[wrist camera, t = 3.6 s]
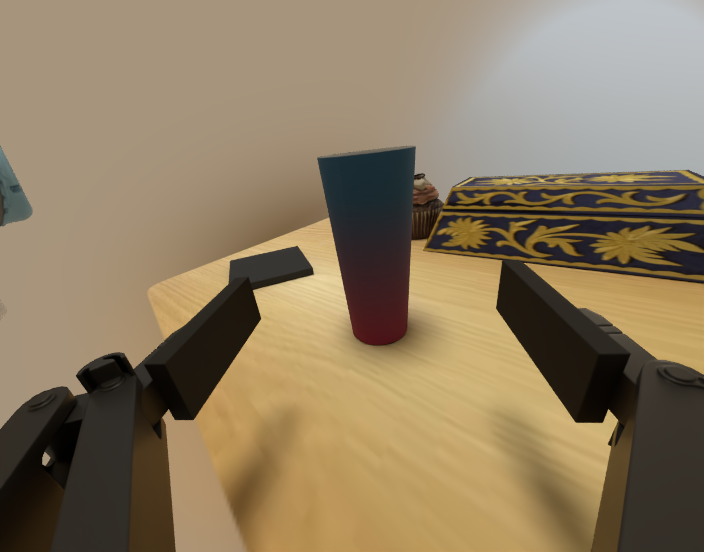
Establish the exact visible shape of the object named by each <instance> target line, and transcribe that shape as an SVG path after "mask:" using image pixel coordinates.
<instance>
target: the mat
mask: <svg viewBox="0 0 704 552" xmlns="http://www.w3.org/2000/svg"><path fill="white" fill-rule="evenodd" d="M312 274H314V273H313V268H312V266H311V265H310V263H309V262H308V261H307V259H306V258H305V256H304V255H303V253H302V252H301V250H300V249H299V247H298V246H295V247H291V248H286V249H282V250H277V251H273V252H268V253H263V254H259V255H254V256H250V257H245V258H241V259H236V260H231V261H230V272H229V283H230V282H232V281H233V280H234V279H235V278H238V277H249V280H250V283H251V286H252V289H256V288H260V287H264V286H268V285H272V284H276V283H280V282H284V281H288V280H292V279H296V278H300V277H304V276H308V275H312Z"/></svg>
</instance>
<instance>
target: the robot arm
mask: <svg viewBox="0 0 704 552" xmlns="http://www.w3.org/2000/svg"><path fill="white" fill-rule="evenodd" d="M31 215H32V207H31V206H30V204H29V202H28V200H27V198H26V196H25V194H24V192H23V190H22V188H21V186H20V184H19V182H18V180H17V178H16V176H15V174H14V172H13V170H12V168H11V166H10V164H9V162H8V160H7V158H6V156H5V154H4V153H3V150H2V148H1V146H0V226H4V225H6V224H8V223H12V222H17V221H22V220H25V219H27V218H29V217H30V216H31ZM496 309H497V310H498V312H499V313H500V315H501V316H502V318H503V319H504V320H505V322H506V323H507V325H508V326H509V328H510V329H511V331H512V332H513V333H514V335H515V336H516V338H517V339H518V341H519V342H520V343H521V345H522V346H523V348H524V349H525V351H526V352H527V353H528V355H529V356H530V358H531V359H532V361H533V362H534V363H535V365H536V366H537V368H538V369H539V371H540V372H541V373H542V375H543V376H544V378H545V379H546V381H547V382H548V383H549V385H550V386H551V388H552V389H553V391H554V392H555V394H556V395H557V396H558V398H559V399H560V401H561V402H562V404H563V405H564V406H565V408H566V409H567V411H568V412H569V414H570V415H571V416H572V418H573V419H574V421H575V422H576V423H603V421H604V418H605V416H606V414H607V411H608V409H609V410H610V411H611V412H612V413H613V415H614V416H615V417H616V418H617V419H618V423H617V425H616V427H615V429H614V432H613V434H612V436H611V438H610V441H609V443H608V445H610V446H611V451H610V456H609V462H608V467H607V472H606V477H605V482H604V487H603V492H602V498H601V503H600V508H599V513H598V518H597V523H596V528H595V533H594V539H593V544H592V549H591V552H704V375H703V374H701V373H699V372H698V371H696V370H694V369H692V368H690V367H687V366H684V365H682V364H679V363H675V362H671V361H666V360H657V359H656V358H655V357H653V356H652V355H651V354H650V353H648V352H647V351H646V350H645V349H643V348H642V347H641V346H639V345H638V344H637V343H636V342H634V341H633V340H632V339H630V338H629V337H628V336H627V335H625V334H622V331H620V330H619V329H618V328H616V327H615V326H613V324H611V323H610V322H609V321H608V320H606V319H605V318H604V317H602V316H601V315H599V314H597V313H595V312H593V311H590V310H588V309H586V308H580V309H577V308H576V307H575V306H574V305H573V304H571V303H570V302H569V301H568V300H567V299H566V298H564V297H563V296H562V295H561V294H560V293H558V292H557V291H556V290H555V289H554V288H552V287H551V286H550V285H549V284H548V283H547V282H545V281H544V280H543V279H542V278H541V277H539V276H538V275H537V274H536V273H535V272H534V271H532V270H531V269H530V268H529V267H528V266H526V265H525V264H524V263H523V262H522V261H520V260H503V261H502V268H501V275H500V283H499V291H498V298H497V306H496ZM260 320H261V316H260V313H259V310H258V306H257V303H256V300H255V296H254V293H253V290H252V286H251V283H250V280H249V277H238V278H235V279H234V280H233V281H232V282H230V283H229V284H228V285H227V286H226V287H225V288H224V289H223V290H222V291H221V292H220V293H219V294H218V295H217V296H216V297H215V298H214V299H212V300H211V301H210V302H209V303H208V304H207V305H206V306H205V307H204V308H203V309H202V310H201V311H200V312H199V313H198V314H197V315H196V316H194V317H193V318H192V319H191V320H190V321H189V322H188V323H187V324H186V325H185V326H183V327H182V328H180V329H178V330H177V331H175V332H174V333H172V334H171V335H170V336H169V337H168V338H167V339H166V340H165V341H164V342H163V343H161V345H159V346H158V347H157V349H155V350H154V351H153V352H152V353H151V354H150V355H148V357H146V358H145V359H144V360H143V361H142V362H141V363H140V364H139V365H138V366H137V367H136V368H135V369H133V368H132V366H131V364H130V363H129V361H128V359H127V357H126V356H125V354H124V353H120V352H119V353H111V354H108V355H105V356H102V357H100V358H98V359H95V360H94V361H92V362H90V363H89V364H87V365H86V366H84V367H83V368H82V369H81V370H80V371H79V372H78V373H77V375H76V377H77V378H78V380H79V381H80V382H81V384H82V385H83V387H84V388H85V389H86V391H87V392H88V393H85V394H81V395H77V396H73V394H72V393H71V392H70V390H69V389H68V388H67V387H56V388H53V389H50V390H47V391H44V392H41V393H40V394H38V395H35V396H34V397H32V398H31V399H30V400H29V401H27V402H26V403H24V404H23V405H22V406H21V407H20V408H19V409H18V410H17V411H16V412H15V413H14V414H13V415H12V416H11V418H10V419H9V420H8V421H7V422H6V423H5V424H4V426H3V427H2V428H1V429H0V552H176V550H175V537H174V525H173V513H172V499H171V487H170V475H169V474H170V473H169V461H168V449H167V435H166V424H165V422H164V420H163V418H162V417H163V416H164V414H165V413H166V412H167V410H168V409H169V410H170V412H171V414H172V416H173V417H174V419H175V420H194V419H195V417H196V416H197V414H198V413H199V411H200V410H201V408H202V407H203V405H204V404H205V402H206V401H207V399H208V398H209V396H210V395H211V393H212V392H213V390H214V389H215V387H216V386H217V384H218V383H219V381H220V380H221V378H222V377H223V375H224V374H225V372H226V371H227V369H228V368H229V366H230V365H231V363H232V362H233V360H234V359H235V357H236V356H237V354H238V353H239V351H240V350H241V348H242V347H243V345H244V344H245V342H246V341H247V339H248V338H249V336H250V335H251V333H252V332H253V330H254V329H255V327H256V326H257V324H258V323H259V321H260ZM44 452H46V453H47V454H48V455H49V456H50V457H51V458H50V460H49V462H48V463H47V465H46V466H44V465H42V457H43V454H44Z"/></svg>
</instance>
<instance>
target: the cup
mask: <svg viewBox="0 0 704 552" xmlns="http://www.w3.org/2000/svg"><path fill="white" fill-rule="evenodd" d="M415 149H416V147H415V146H403V147H393V148H382V149H373V150H365V151H357V152H348V153H340V154H333V155H327V156H321V157H318V158H317V159H318V164H319V169H320V174H321V179H322V183H323V188H324V193H325V198H326V203H327V208H328V213H329V217H330V222H331V227H332V232H333V237H334V242H335V246H336V251H337V256H338V261H339V266H340V271H341V276H342V280H343V285H344V290H345V295H346V300H347V305H348V309H349V314H350V319H351V324H352V329H353V333H354V335H355V336H356V337H357V339H359V340H360V341H362V342H364V343H367V344H372V345H385V344H390V343H393V342H395V341H397V340H399V339H400V338H402V337H403V336H404V335H405V333H406V331H407V319H408V298H409V277H410V255H411V234H412V213H413V191H414V170H415Z"/></svg>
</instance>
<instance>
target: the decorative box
mask: <svg viewBox="0 0 704 552" xmlns="http://www.w3.org/2000/svg"><path fill="white" fill-rule="evenodd" d="M442 209H443V210H441V212H440V215H439V217H438V219H437V221H436V223H435V226H434V228H433V230H432V232H431V234H430V236H429V239H428V241H427V243H426V245H425V247H424V250H423V251H431V252H440V253H449V254H457V255H466V256H475V257H483V258H492V259H501V260H520V261H522V262H527V263H536V264H544V265H553V266H562V267H570V268H579V269H588V270H596V271H605V272H614V273H623V274H631V275H640V276H649V277H657V278H666V279H675V280H683V281H692V282H701V283H704V176H701V175H699V174H697V173H694V172H692V171H690V170H677V171H647V172H618V173H590V174H558V175H530V176H499V177H470V178H468V179H466V180H464V181H462V182H461V183H459V184H457V185H455V186H453V187H452V188H451V191H450V193H449V195H448V197H447V199H446V202H445V204H444V206H443V208H442Z"/></svg>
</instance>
